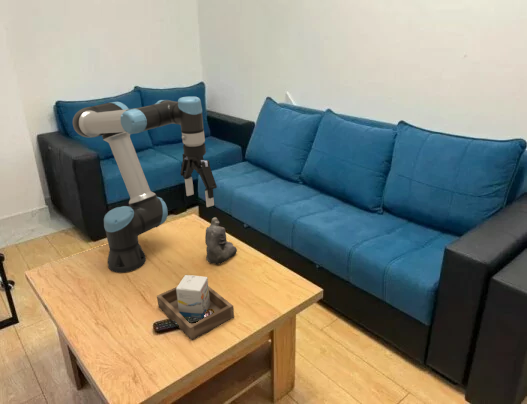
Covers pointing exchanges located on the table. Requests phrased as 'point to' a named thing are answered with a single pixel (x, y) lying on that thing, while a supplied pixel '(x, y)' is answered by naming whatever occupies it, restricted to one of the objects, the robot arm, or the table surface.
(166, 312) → the tray
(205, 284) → the ink box
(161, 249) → the table surface
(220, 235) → the figurine
